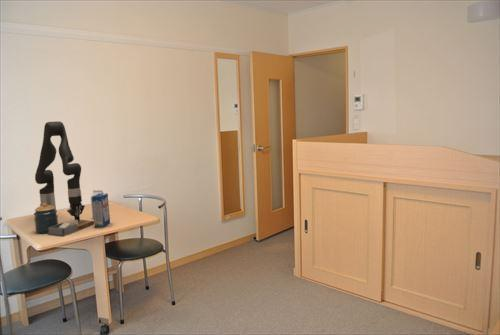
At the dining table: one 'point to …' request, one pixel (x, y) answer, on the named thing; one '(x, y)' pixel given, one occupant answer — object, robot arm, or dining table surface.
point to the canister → (45, 218)
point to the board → (84, 224)
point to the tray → (61, 230)
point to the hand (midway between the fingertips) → (77, 221)
